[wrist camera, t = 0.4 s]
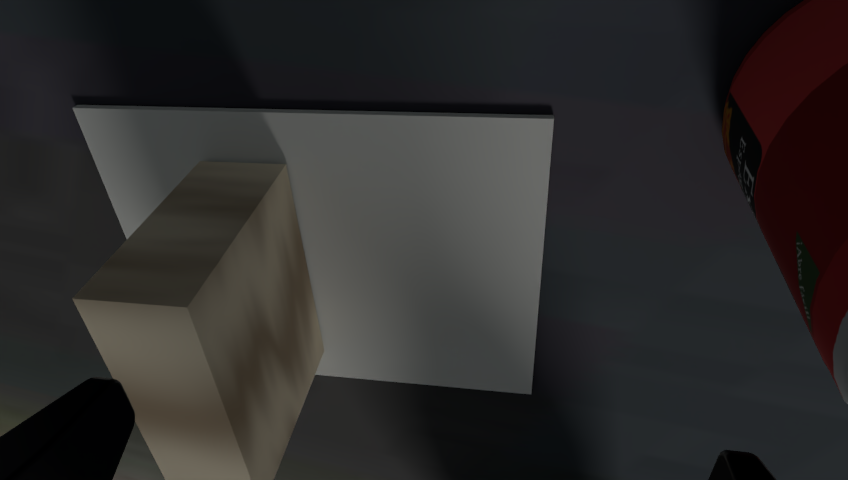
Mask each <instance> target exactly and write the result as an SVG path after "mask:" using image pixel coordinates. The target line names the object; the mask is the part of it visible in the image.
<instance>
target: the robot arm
mask: <svg viewBox="0 0 848 480" xmlns="http://www.w3.org/2000/svg"><path fill="white" fill-rule="evenodd" d="M134 422H135V412H134V409H133V407H132V405H131V403H130V400H129V398H128V396H127V394H126V392H125V390H124V388H123V386H122V384H121V383H120V382H119V381H118V380H116V379H110V378H102V377H93V378H90V379H88V380H86V381H84V382H83V383H81V384H80V385H78V386H77V387H75V388H74V389H72V390H71V391H69V392H68V393H66V394H65V395H63V396H61V397H60V398H58V399H57V400H55V401H54V402H52V403H51V404H49V405H48V406H46V407H45V408H43V409H42V410H40V411H39V412H37V413H36V414H34V415H33V416H31V417H30V418H28V419H27V420H25V421H24V422H22V423H21V424H19V425H18V426H16V427H15V428H13V429H11V430H10V431H8V432H7V433H5V434H4V435H2V436H1V437H0V480H112V479H113V477H114V474H115V472H116V469H117V467H118V464H119V462H120V459H121V457H122V454H123V452H124V449H125V447H126V444H127V442H128V439H129V437H130V434H131V432H132V429H133V427H134ZM708 480H776V478H775V477H774V476H773V475H772V473H771V472H770V471H769V470H768V468H767V467H766V466H765V465H764V464H763V462H762V461H761V460H760V459H759V458H758V457H757V456H756V455H754V454H752V453H749V452H740V451H731V450H724V451H722V452H721V453H720V455H719V456H718V459H717V461H716V463H715V466H714V468H713V470H712V472H711V475H710V477H709V479H708Z"/></svg>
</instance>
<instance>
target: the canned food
mask: <svg viewBox="0 0 848 480" xmlns="http://www.w3.org/2000/svg"><path fill="white" fill-rule="evenodd" d="M722 136H723V143H724V150H725V153H726V156H727V158H728V160H729V163H730V165H731V167H732V170H733V172H734V174H735V176H736V178H737V180H738V182H739V184H740V186H741V189H742V191H743V193H744V195H745V197H746V199H747V201H748V203H749V205H750V208H751V210H752V212H753V214H754V216H755V218H756V220H757V222H758V224H759V226H760V229H761V231H762V233H763V235H764V237H765V239H766V241H767V243H768V245H769V247H770V250H771V252H772V254H773V256H774V258H775V260H776V262H777V264H778V266H779V268H780V271H781V273H782V275H783V277H784V279H785V281H786V283H787V285H788V287H789V290H790V292H791V294H792V296H793V298H794V300H795V302H796V304H797V306H798V308H799V311H800V313H801V315H802V317H803V319H804V321H805V323H806V325H807V327H808V329H809V332H810V334H811V336H812V338H813V340H814V342H815V344H816V346H817V348H818V350H819V353H820V355H821V357H822V359H823V361H824V363H825V364H826V366H827V367H828V369H829V371H830V373H831V375H832V377H833V379H834V381H835V383H836V385H837V387H838V389H839V391H840V393H841V395H842V397H843V399H844V401H845V402H846V403H847V404H848V0H804V1H802V2H801V3H799V4H798V5H796V6H795V7H793V8H792V9H790V10H789V11H788V12H786V13H785V14H784V15H783V16H782V17H780V18H779V19H778V20H777V21H776V22H775V23H774V24H773V25H772V26H771V27H770V28H769V29H767V30H766V31H765V32H764V33H763V34H762V36H761V37H760V38H759V39H758V41H757V42H756V43H755V44H754V46H753V47H752V48H751V49H750V51H749V52H748V53H747V54H746V56H745V58H744V59H743V61H742V63H741V65H740V67H739V68H738V70H737V72H736V74H735V75H734V77H733V80H732V83H731V86H730V89H729V92H728V95H727V98H726V103H725V108H724V116H723V126H722Z"/></svg>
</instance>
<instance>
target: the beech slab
mask: <svg viewBox="0 0 848 480" xmlns="http://www.w3.org/2000/svg"><path fill="white" fill-rule="evenodd" d="M72 299H73V301H74V303H75V305H76V307H77V309H78V311H79V313H80V315H81V317H82V319H83V320H84V322H85V324H86V326H87V328H88V330H89V332H90V334H91V336H92V338H93V340H94V342H95V344H96V346H97V348H98V350H99V352H100V354H101V355H102V357H103V359H104V361H105V363H106V365H107V367H108V369H109V371H110V373H111V375H112V377H113V379H116V380H118V381H119V382H120V383H121V384H122V386H123V388H124V390H125V392H126V394H127V396H128V398H129V400H130V403H131V405H132V407H133V409H134V412H135V422H136V424H137V426H138V427H139V429H140V431H141V433H142V435H143V437H144V439H145V441H146V443H147V445H148V447H149V449H150V451H151V453H152V455H153V457H154V459H155V461H156V462H157V464H158V466H159V468H160V470H161V472H162V474H163V476H164V478H165V480H274V477H275V475H276V472H277V470H278V467H279V465H280V462H281V460H282V457H283V455H284V452H285V449H286V447H287V444H288V442H289V439H290V437H291V434H292V432H293V429H294V427H295V424H296V422H297V419H298V416H299V414H300V411H301V409H302V406H303V404H304V401H305V399H306V396H307V394H308V391H309V388H310V386H311V383H312V381H313V378H314V376H315V373H316V371H317V368H318V366H319V363H320V361H321V358H322V355H323V353H324V346H323V341H322V336H321V332H320V327H319V322H318V317H317V312H316V307H315V302H314V298H313V293H312V288H311V283H310V278H309V273H308V268H307V264H306V259H305V254H304V249H303V244H302V239H301V234H300V230H299V225H298V220H297V215H296V210H295V205H294V200H293V196H292V191H291V186H290V181H289V176H288V171H287V166H286V164H264V163H237V162H209V161H199V163H198V164H197V165H196V166H195V167H194V168H193V169H192V170H191V171H190V172H189V173H188V174H187V175H186V177H185V178H184V179H183V180H182V181H181V182H180V183H179V184H178V185H177V186H176V187H175V188H174V189H173V191H172V192H171V193H170V194H169V195H168V196H167V197H166V198H165V199H164V200H163V201H162V202H161V204H160V205H159V206H158V207H157V208H156V209H155V210H154V211H153V212H152V213H151V214H150V215H149V216H148V218H147V219H146V220H145V221H144V222H143V223H142V224H141V225H140V226H139V227H138V228H137V229H136V230H135V232H134V233H133V234H132V235H131V236H130V237H129V238H128V239H127V240H126V241H125V242H124V243H123V245H122V246H121V247H120V248H119V249H118V250H117V251H116V252H115V253H114V254H113V255H112V256H111V257H110V259H109V260H108V261H107V262H106V263H105V264H104V265H103V266H102V267H101V268H100V269H99V270H98V271H97V273H96V274H95V275H94V276H93V277H92V278H91V279H90V280H89V281H88V282H87V283H86V284H85V286H84V287H83V288H82V289H81V290H80V291H79V292H78V293H77V294H76V295H75V296H74V297H73V298H72Z"/></svg>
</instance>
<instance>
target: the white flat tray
mask: <svg viewBox="0 0 848 480" xmlns="http://www.w3.org/2000/svg"><path fill="white" fill-rule="evenodd" d="M73 110H74V113H75V115H76V118H77V120H78V122H79V125H80V127H81V130H82V132H83V135H84V137H85V139H86V142H87V144H88V147H89V149H90V152H91V154H92V156H93V159H94V161H95V164H96V166H97V168H98V171H99V173H100V176H101V178H102V181H103V183H104V185H105V188H106V190H107V193H108V195H109V198H110V200H111V202H112V205H113V207H114V210H115V212H116V214H117V217H118V219H119V222H120V224H121V227H122V229H123V231H124V234H125V236H126V239H128V238H129V237H130V236H131V235H132V234H133V233H134V232H135V230H136V229H137V228H138V227H139V226H140V225H141V224H142V223H143V222H144V221H145V220H146V219H147V218H148V216H149V215H150V214H151V213H152V212H153V211H154V210H155V209H156V208H157V207H158V206H159V205H160V204H161V202H162V201H163V200H164V199H165V198H166V197H167V196H168V195H169V194H170V193H171V192H172V191H173V189H174V188H175V187H176V186H177V185H178V184H179V183H180V182H181V181H182V180H183V179H184V178H185V177H186V175H187V174H188V173H189V172H190V171H191V170H192V169H193V168H194V167H195V166H196V165H197V164H198V163H199V161H209V162H237V163H264V164H286V166H287V171H288V176H289V181H290V186H291V191H292V196H293V200H294V205H295V210H296V215H297V220H298V225H299V230H300V234H301V239H302V244H303V249H304V254H305V259H306V264H307V268H308V273H309V278H310V283H311V288H312V293H313V298H314V302H315V307H316V312H317V317H318V322H319V327H320V332H321V336H322V341H323V346H324V353H323V355H322V358H321V361H320V363H319V366H318V368H317V371H316V373H315V375H326V376H336V377H347V378H358V379H369V380H380V381H391V382H401V383H412V384H423V385H434V386H445V387H455V388H466V389H477V390H488V391H499V392H510V393H520V394H531V392H532V380H533V368H534V356H535V343H536V331H537V319H538V307H539V295H540V282H541V270H542V258H543V246H544V233H545V221H546V209H547V197H548V184H549V172H550V160H551V148H552V136H553V123H554V115H524V114H478V113H432V112H386V111H340V110H294V109H248V108H202V107H156V106H110V105H76V106H75V107H73Z"/></svg>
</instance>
